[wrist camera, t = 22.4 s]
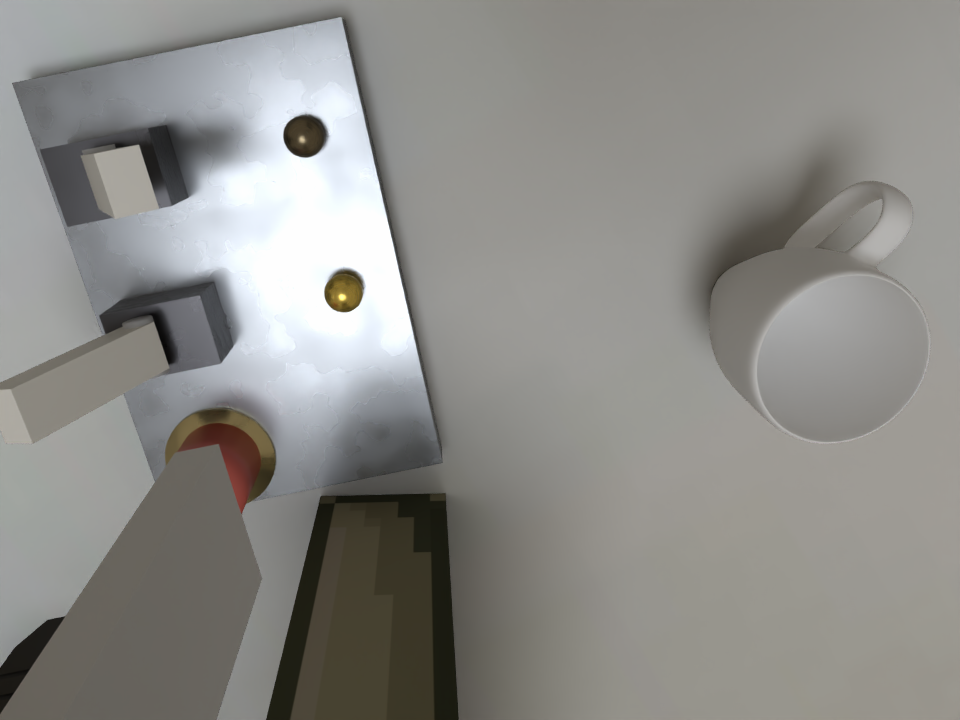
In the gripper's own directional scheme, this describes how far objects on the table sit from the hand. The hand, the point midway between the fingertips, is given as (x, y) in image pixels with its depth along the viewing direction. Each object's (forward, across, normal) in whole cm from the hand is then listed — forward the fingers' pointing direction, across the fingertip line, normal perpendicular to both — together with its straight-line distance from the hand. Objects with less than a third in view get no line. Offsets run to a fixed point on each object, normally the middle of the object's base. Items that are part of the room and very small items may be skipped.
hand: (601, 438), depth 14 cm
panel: (+32, -13, -2) cm, 34 cm away
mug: (+32, +15, -7) cm, 36 cm away
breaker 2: (+27, -17, -3) cm, 32 cm away
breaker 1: (+27, -17, +5) cm, 32 cm away
